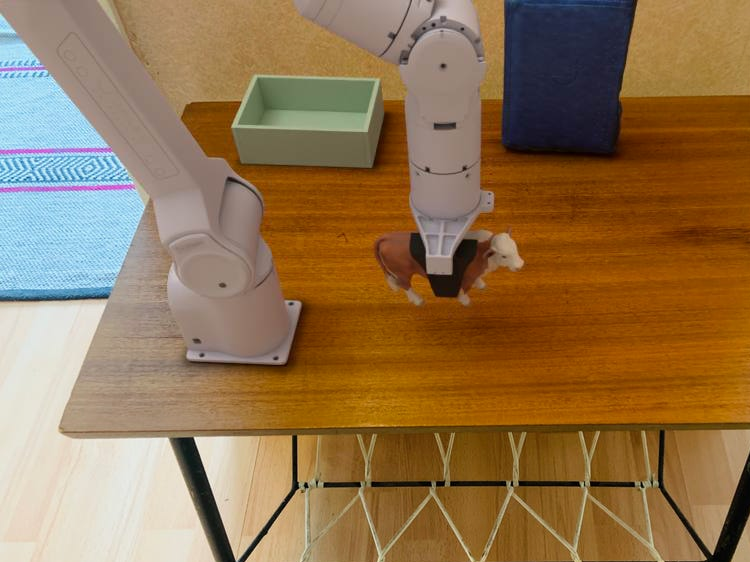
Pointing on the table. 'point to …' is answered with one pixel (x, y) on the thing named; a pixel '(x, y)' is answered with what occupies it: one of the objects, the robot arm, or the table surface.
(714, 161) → the table surface
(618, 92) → the book
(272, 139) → the bin
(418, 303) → the bull figurine
